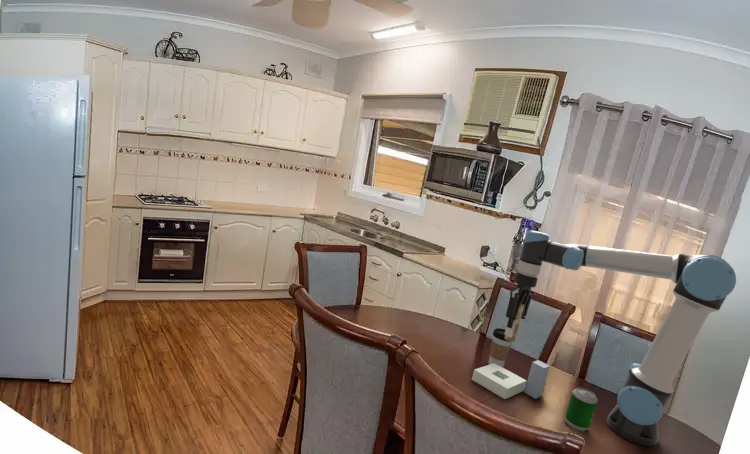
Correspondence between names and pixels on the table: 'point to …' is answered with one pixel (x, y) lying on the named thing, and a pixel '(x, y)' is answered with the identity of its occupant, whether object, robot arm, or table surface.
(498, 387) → the socket block
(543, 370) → the square peg
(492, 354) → the coffee cup
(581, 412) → the soda can
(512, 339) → the oak dowel
